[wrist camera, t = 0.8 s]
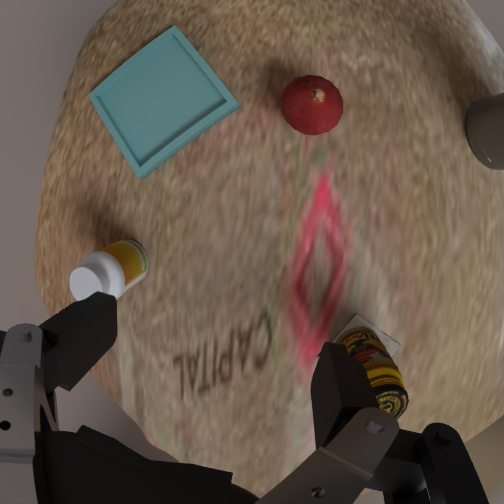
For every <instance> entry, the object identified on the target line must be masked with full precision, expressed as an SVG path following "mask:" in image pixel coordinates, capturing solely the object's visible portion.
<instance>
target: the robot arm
mask: <svg viewBox="0 0 504 504" xmlns="http://www.w3.org/2000/svg"><path fill="white" fill-rule="evenodd" d="M466 129H467V136H468V140H469V143H470V145H471V148H472V150H473V152H474V153H475V155H476V157H477V158H478V159H479V160H480V162H482V163H483V164H484V165H485V166H487V167H488V168H491V169H496V170H504V93H501V94H498V95H494V96H491V97H488V98H485V99H482V100H479V101H476V102H475V103H473V104H472V106H471V107H470V108H469V111H468V113H467V118H466ZM116 337H117V300H116V297H115V296H113V295H110V294H107V293H103V292H100V291H96V292H95V293H93V294H92V295H90V296H89V297H87V298H86V299H83V300H80V301H77V302H73V303H72V304H70V305H69V306H67V307H66V308H65V309H63V310H61V311H60V312H59V314H58V313H57V314H55V315H54V316H52V317H51V318H50V319H48V320H47V321H45V322H44V323H42V324H41V325H40V326H36V325H33V324H27V323H24V324H18V325H16V326H13V327H11V328H10V329H9V330H8V331H7V332H4V331H0V504H353V503H354V502H355V500H356V499H357V498H358V496H359V495H360V493H361V492H362V491H363V489H364V488H369V489H373V490H378V491H383V495H384V501H385V504H489V502H488V499H487V497H486V494H485V492H484V489H483V487H482V484H481V482H480V479H479V477H478V475H477V472H476V470H475V468H474V465H473V463H472V461H471V459H470V456H469V454H468V452H467V450H466V448H465V446H464V443H463V441H462V439H461V437H460V435H459V434H458V432H457V431H456V430H455V429H453V428H452V427H450V426H449V425H446V424H443V423H432V424H429V425H428V426H426V428H425V429H424V431H423V432H422V434H421V433H416V432H412V431H407V430H403V429H400V428H399V424H398V421H397V420H396V418H395V417H394V416H393V415H392V414H390V413H389V412H387V411H385V410H383V409H380V407H379V404H378V401H377V398H376V396H375V393H374V390H373V388H372V386H371V382H370V380H369V378H368V375H367V372H366V369H365V367H364V366H363V365H362V364H361V363H360V362H359V361H358V360H357V359H353V358H350V356H349V353H348V350H347V347H346V345H345V344H339V343H332V342H325V343H324V345H323V347H322V350H321V353H320V356H319V359H318V362H317V365H316V368H315V371H314V374H313V377H312V381H311V400H312V410H313V420H314V431H315V443H316V450H315V451H314V452H313V453H312V454H311V455H310V456H309V457H308V458H307V459H306V460H305V461H304V462H303V463H302V464H301V465H300V466H298V467H297V468H296V469H295V470H294V471H293V472H292V473H291V474H289V475H288V476H287V477H286V478H285V479H284V480H283V481H281V482H280V483H279V484H278V485H277V486H275V487H274V488H273V489H272V490H271V491H269V492H268V493H267V494H266V495H264V496H263V497H262V498H258V497H257V496H256V495H254V494H252V493H251V492H249V491H247V490H245V489H243V488H241V487H240V486H237V485H235V484H232V483H231V480H232V475H233V473H232V472H227V471H222V470H217V469H212V468H208V467H203V466H199V465H195V464H187V463H173V462H164V461H153V460H149V459H147V458H145V457H143V456H141V455H140V454H138V453H136V452H135V451H133V450H131V449H130V448H128V447H126V446H125V445H124V444H122V443H120V442H119V441H118V440H116V439H114V438H112V437H110V436H107V435H105V434H102V433H100V432H98V431H96V430H93V429H91V428H89V427H87V426H84V425H82V426H81V427H80V429H79V430H78V431H77V432H76V433H74V432H67V431H59V423H58V413H57V401H56V392H55V388H56V387H57V386H60V387H61V388H64V389H65V390H68V391H70V390H71V389H72V388H73V387H74V386H75V385H76V384H77V383H78V382H79V381H80V380H81V378H82V377H83V376H84V375H85V374H86V373H87V372H88V371H89V370H90V369H91V368H92V367H93V366H94V365H95V364H96V362H97V361H98V360H99V359H100V358H101V357H102V356H103V355H104V354H105V353H106V352H107V351H108V350H109V349H110V348H111V347H112V346H113V344H114V342H115V340H116ZM426 487H427V488H426ZM427 489H428V492H429V495H428V492H427ZM429 496H430V499H429Z"/></svg>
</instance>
